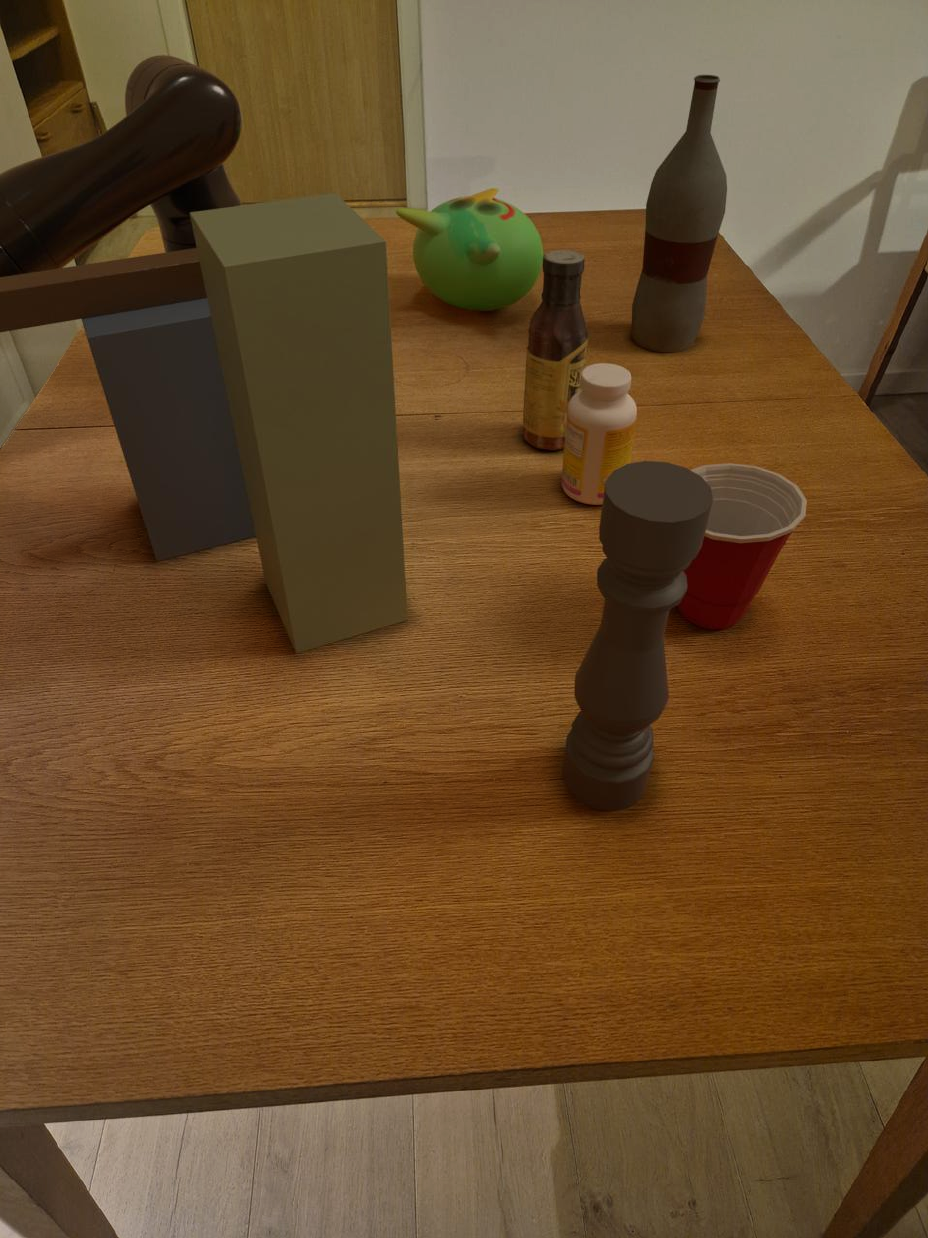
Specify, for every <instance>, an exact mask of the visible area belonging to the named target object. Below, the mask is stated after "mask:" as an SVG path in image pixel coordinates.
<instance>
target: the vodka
mask: <svg viewBox="0 0 928 1238" xmlns="http://www.w3.org/2000/svg"><path fill="white" fill-rule="evenodd" d="M693 81H694V85H693V90H692V94H691V101H690V106H689V111H688V118H687V123H686V129H685V132H684V133H683V134H682V136H681V137H680V139H679V140H678V141H677V142H676V144H675V145H674V146H673V148H671V150H670V152H669V153H668V154H667V155H666V157H665V158H664V159H663V161H662V163H661V164H659V166H658V167H657V168H656V171H655V172H654V176H653V178H652V180H651V184H650V188H649V192H648V195H647V199H646V203H645V229H644V243H643V254H642V255H643V256H642V268H641V272H640V275H639V278H638V282H637V286H636V289H635V293H634V295H633V296H634V297H633V300H632V305H631V332H632V333H631V334H632V339H633V341H634V342H635V344H636V345H638V346H639V347H641V348H643V349H646V350H648V351H653V352H657V353H669V354H670V353H679V352H683V351H686V350H688V349H690V348H691V347H693V345H694V343H695V341H696V339H697V337H698V335H699V334H700V332H701V328H702V325H703V321H704V319H705V315H706V304H707V294H708V293H707V292H708V291H707V290H708V274H709V270H710V266H711V263H712V259H713V255H714V251H715V248H716V244H717V240H718V237H719V234H720V229H721V227H722V223H723V221H724V217H725V215H726V207H727V197H728V182H727V174H726V171H725V168H724V165H723V163H722V160H721V157H720V155H719V154H720V153H719V151H718V149H717V147H716V144H715V141H714V139H713V136H712V133H711V132H712V124H713V119H714V112H715V107H716V100H717V93H718V87H719V83H720V82H721V79H720V77H719V76H717V75H713V74H697V75H696V76H695V77H694V78H693Z"/></svg>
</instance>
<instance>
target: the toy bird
mask: <svg viewBox="0 0 928 1238" xmlns="http://www.w3.org/2000/svg"><path fill="white" fill-rule="evenodd" d="M498 192H499V188H497V187H495V188H494V187H493V188H489V189H488V188H487V189H485V190H483V191H480V192H477V193H475V194H472V195H468V196H467V195H466V196H461V197H460V196H459V197H456V198H452V199H449V200H447V201H445V202H442V203H440V204H438V205H437V206H435V207H434V208H433V209H431V210H430V211H429V210H423V209H416V208H408V207H407V208H406V207H401V208H398V209H396V210H395V214H396V215H397V216H398V217H399V218H400V219H402V220H404V221H405V222H407V223H409V224H410V225H412V226H414V227H416V228H417V230H416V232H415V236H414V239H413V246H412V256H413V263H414V267H415V270H416V272H417V274H418V276H419V278H420V280H421V281H422V283H423V284H424V286H425V287H426V288H427V289H428V290H429V291H430V292H431V293H432V294H433V295H434V296H436V297H437V298H438V299H440V300H442V301H443V302H445V303H447V304H449V305H451V306H454V307H456V308H459V309H462V310H467V311H475V312H486V311H487V312H488V311H495V310H501V309H504V308H506V307H509V306H511V305H513V304H515V303H517V302H518V301H520V300H522V299H523V298H524V297H525V296H526V295H527V294H528V293H529V292H530V291H531V290H532V289H533V287H534V286H535V284H536V283H537V280H538V278H539V276H540V274H541V271H542V269H543V267H542V266H543V256H544V247H543V246H544V245H543V242H542V238H541V235H540V233H539V231H538V229H537V227H536V226H535V224H534V222H533V221H532V220H531V219H530V218H529V217H528V215H527V214H526V213H524V212H523V211H522V210H520V209H519V208H518V207H517V206H515V205H513V204H511V203H510V202H507V201H505V200H502V199H499V198H496V197H495V196H496V195H497V194H498Z"/></svg>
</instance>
